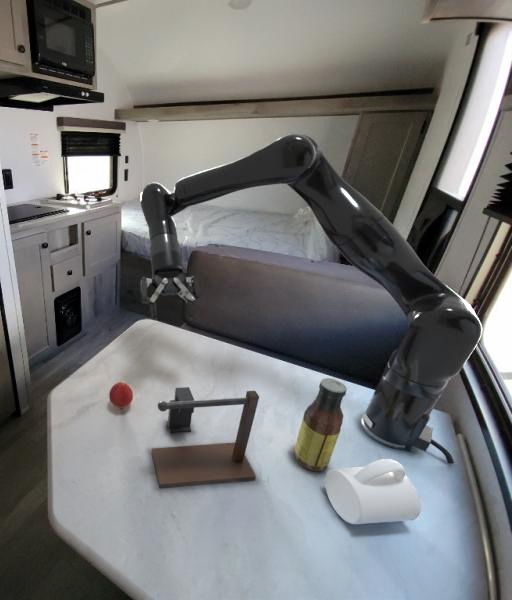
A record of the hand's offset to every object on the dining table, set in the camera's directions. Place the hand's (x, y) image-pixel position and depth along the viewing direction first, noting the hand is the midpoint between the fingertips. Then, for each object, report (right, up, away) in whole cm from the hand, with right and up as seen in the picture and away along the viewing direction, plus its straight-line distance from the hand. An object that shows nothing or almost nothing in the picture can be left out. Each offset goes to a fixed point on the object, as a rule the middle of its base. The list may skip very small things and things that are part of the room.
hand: (173, 318), depth 75 cm
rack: (+4, -30, -9) cm, 31 cm away
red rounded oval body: (-12, -23, +6) cm, 26 cm away
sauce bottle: (+27, -29, -8) cm, 40 cm away
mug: (+31, -33, -17) cm, 49 cm away
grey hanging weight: (+1, -26, -2) cm, 26 cm away
